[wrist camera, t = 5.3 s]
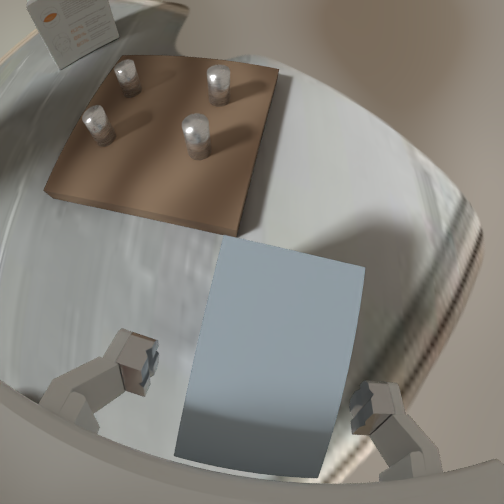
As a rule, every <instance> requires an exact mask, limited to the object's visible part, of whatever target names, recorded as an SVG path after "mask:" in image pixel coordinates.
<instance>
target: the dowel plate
mask: <svg viewBox="0 0 504 504" xmlns="http://www.w3.org/2000/svg"><path fill="white" fill-rule="evenodd" d="M278 72H279V69H275V68H270V67H265V66H259V65H253V64H247V63H241V62H234V61H226V60H218V59H207V58H197V57H184V56H163V55H122V57H121V58H120V59H119V61H118V62H117V63H116V65H115V66H114V67H113V69H112V70H111V71H110V73H109V74H108V76H107V77H106V78H105V80H104V81H103V83H102V84H101V86H100V87H99V89H98V90H97V92H96V93H95V95H94V96H93V98H92V99H91V101H90V102H89V104H88V106H87V107H86V109H85V111H84V112H83V114H82V116H81V117H80V119H79V121H78V122H77V124H76V126H75V128H74V129H73V131H72V133H71V135H70V137H69V138H68V140H67V142H66V144H65V146H64V148H63V150H62V152H61V154H60V156H59V158H58V160H57V162H56V164H55V166H54V168H53V170H52V172H51V175H50V177H49V179H48V181H47V183H46V186H45V188H44V191H45V192H46V193H47V194H48V195H49V196H51V197H52V198H54V199H58V200H63V201H68V202H73V203H78V204H82V205H87V206H92V207H97V208H101V209H106V210H111V211H115V212H120V213H125V214H129V215H134V216H139V217H143V218H148V219H153V220H157V221H162V222H166V223H171V224H175V225H180V226H185V227H189V228H194V229H198V230H203V231H207V232H212V233H216V234H221V235H227V236H231V237H237V233H238V229H239V225H240V221H241V217H242V213H243V209H244V205H245V201H246V197H247V193H248V189H249V185H250V181H251V177H252V173H253V169H254V165H255V161H256V158H257V154H258V150H259V146H260V142H261V138H262V135H263V131H264V127H265V123H266V120H267V116H268V112H269V108H270V105H271V101H272V97H273V94H274V90H275V86H276V83H277V78H278Z"/></svg>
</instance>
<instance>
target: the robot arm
mask: <svg viewBox="0 0 504 504" xmlns="http://www.w3.org/2000/svg"><path fill="white" fill-rule="evenodd" d="M157 348H158V340H155V339H152V338H149V337H146V336H143V335H140V334H137V333H134V332H131V331H128V330H126V329H123V328H121V329H120V330H119V331H118V333H117V334H116V336H115V337H114V339H113V341H112V342H111V344H110V346H109V347H108V349H107V351H106V353H105V354H104V356H103V358H102V357H98V358H96V359H94V360H92V361H90V362H88V363H86V364H84V365H82V366H80V367H78V368H76V369H73V370H71V371H69V372H67V373H65V374H63V375H61V376H59V377H57V378H55V379H53V380H52V382H51V384H50V385H49V387H48V388H47V390H46V392H45V393H44V395H43V397H42V398H41V400H40V402H39V403H38V404H37V403H35V402H34V401H32V400H30V399H29V398H27V397H25V396H24V395H22V394H21V393H19V392H18V391H16V390H14V389H13V388H11V387H10V386H8V385H7V384H6V383H4V382H3V381H1V380H0V504H504V464H503V463H502V462H501V461H500V460H498V459H493V460H489V461H486V462H483V463H479V464H476V465H472V466H468V467H465V468H461V469H456V470H453V471H448V472H443V471H442V465H441V460H440V455H439V450H438V448H437V446H436V445H435V444H434V443H433V442H432V441H431V440H430V438H428V436H427V435H426V434H425V433H424V432H423V431H422V429H421V428H420V427H419V426H418V425H417V424H416V423H415V421H413V419H412V418H411V417H410V416H409V415H406V414H405V409H404V405H403V401H402V397H401V393H400V389H399V385H398V384H397V383H390V382H379V381H366V380H365V381H363V382H362V383H361V385H360V389H359V390H357V391H355V392H354V394H353V395H352V397H351V400H350V406H349V408H350V413H351V414H352V415H353V419H352V420H351V429H352V434H353V435H370V436H369V437H370V438H371V440H372V441H373V443H374V444H375V446H376V448H377V449H378V451H379V452H380V454H381V455H382V457H383V459H384V460H385V462H386V463H387V465H388V466H389V468H388V469H386V470H385V471H383V472H381V473H380V474H379V482H370V483H347V484H319V483H297V482H283V481H273V480H264V479H256V478H249V477H242V476H236V475H230V474H225V473H220V472H215V471H210V470H206V469H201V468H197V467H193V466H189V465H185V464H181V463H177V462H174V461H170V460H167V459H163V458H160V457H157V456H154V455H151V454H148V453H145V452H142V451H139V450H136V449H133V448H130V447H128V446H125V445H122V444H120V443H117V442H115V441H112V440H110V439H107V438H105V437H102V436H100V435H98V434H97V433H98V431H99V428H100V427H99V424H98V422H97V420H96V418H95V417H94V415H93V414H94V413H95V412H97V411H98V410H100V409H101V408H103V407H104V406H105V405H107V404H108V403H110V402H111V401H113V400H114V399H116V398H117V397H118V396H120V395H121V394H123V393H124V392H125V391H128V392H131V393H134V394H137V395H140V396H144V397H145V396H146V393H147V391H148V389H149V386H150V377H152V376H154V374H155V372H156V369H157V366H158V361H159V353H158V352H157V351H156V350H157Z"/></svg>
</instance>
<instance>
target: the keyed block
mask: <svg viewBox="0 0 504 504" xmlns="http://www.w3.org/2000/svg"><path fill="white" fill-rule="evenodd" d="M364 275H365V267H361V266H357V265H353V264H349V263H344V262H340V261H336V260H332V259H327V258H323V257H319V256H314V255H310V254H306V253H301V252H297V251H293V250H288V249H284V248H280V247H275V246H271V245H267V244H262V243H258V242H253V241H249V240H245V239H240V238H236V237H231V236H227V235H224V236H223V240H222V244H221V248H220V252H219V256H218V260H217V264H216V268H215V272H214V276H213V280H212V284H211V288H210V292H209V296H208V300H207V305H206V309H205V313H204V317H203V322H202V326H201V330H200V334H199V339H198V343H197V348H196V352H195V356H194V361H193V365H192V370H191V375H190V379H189V384H188V388H187V393H186V398H185V403H184V408H183V412H182V417H181V422H180V427H179V432H178V437H177V442H176V447H175V453H174V456H176V457H179V458H183V459H187V460H191V461H195V462H199V463H203V464H208V465H213V466H217V467H222V468H228V469H233V470H239V471H245V472H252V473H259V474H267V475H277V476H287V477H301V478H318V476H319V473H320V470H321V467H322V464H323V461H324V458H325V455H326V452H327V449H328V445H329V442H330V439H331V435H332V432H333V429H334V425H335V421H336V418H337V414H338V410H339V407H340V403H341V399H342V395H343V391H344V386H345V382H346V378H347V373H348V369H349V364H350V359H351V355H352V350H353V344H354V339H355V334H356V328H357V323H358V317H359V310H360V304H361V297H362V290H363V283H364Z"/></svg>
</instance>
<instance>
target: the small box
mask: <svg viewBox="0 0 504 504" xmlns="http://www.w3.org/2000/svg"><path fill="white" fill-rule="evenodd" d="M27 10H28V12H29V14H30V15H31V18H32V20H33V22H34V23H35V26H36V28H37V30H38V32H39V33H40V35H41V37H42V39H43V41H44V43H45V45H46V47H47V49H48V50H49V52H50V54H51V56H52V58H53V60H54V62H55V63H56V65H57V67H58V69H59V70H61V69H63V68H64V67H66V66H68V65H69V64H71V63H73V62H74V61H76V60H78V59H79V58H81V57H83V56H85V55H86V54H88V53H90V52H92V51H94V50H95V49H97V48H99V47H101V46H103V45H105V44H107V43H109V42H111V41H113V40H115V39H117V38H119V33H118V30H117V27H116V24H115V21H114V18H113V15H112V12H111V8H110V5H109V2H108V0H27Z"/></svg>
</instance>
